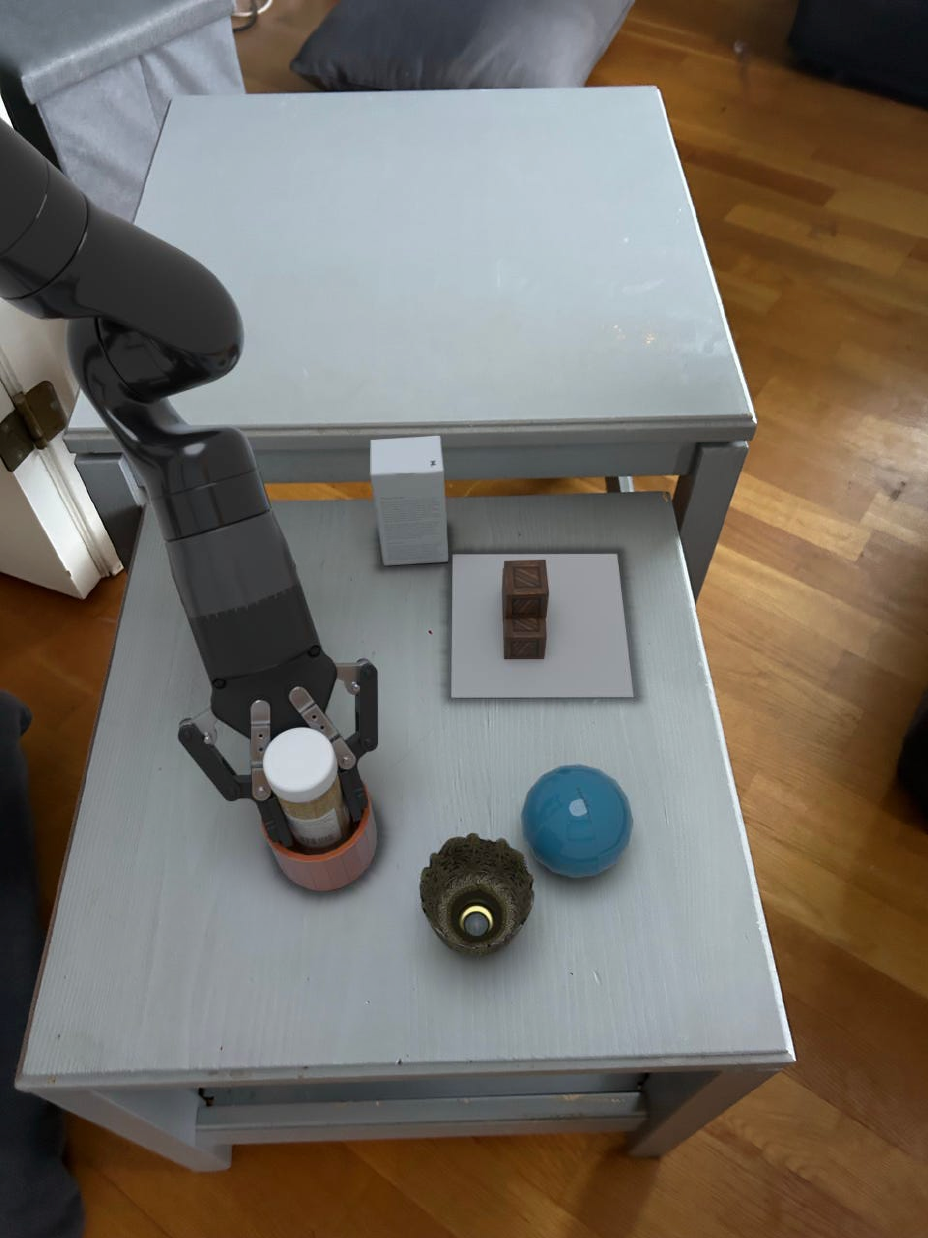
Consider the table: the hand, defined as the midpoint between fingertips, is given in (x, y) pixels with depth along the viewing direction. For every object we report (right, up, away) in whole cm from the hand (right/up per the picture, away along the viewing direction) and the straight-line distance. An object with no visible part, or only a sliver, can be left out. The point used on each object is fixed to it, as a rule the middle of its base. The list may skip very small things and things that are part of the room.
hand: (322, 828), depth 65 cm
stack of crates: (+16, +14, +18) cm, 28 cm away
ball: (+18, -2, +6) cm, 19 cm away
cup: (+11, -8, +3) cm, 13 cm away
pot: (-1, -2, +6) cm, 7 cm away
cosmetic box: (+5, +21, +23) cm, 31 cm away
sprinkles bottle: (-1, -2, +6) cm, 7 cm away
